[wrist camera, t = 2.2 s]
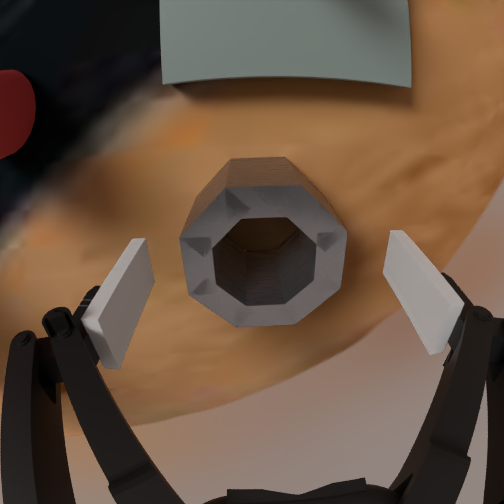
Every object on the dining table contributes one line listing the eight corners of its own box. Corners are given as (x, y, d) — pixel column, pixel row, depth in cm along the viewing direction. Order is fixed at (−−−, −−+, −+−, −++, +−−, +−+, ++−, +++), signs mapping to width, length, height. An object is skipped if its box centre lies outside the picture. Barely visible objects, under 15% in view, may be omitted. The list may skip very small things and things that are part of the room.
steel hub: (205, 271, 23) (195, 327, 17) (193, 161, 19) (172, 191, 14) (316, 266, 23) (335, 321, 17) (321, 157, 19) (351, 185, 14)
